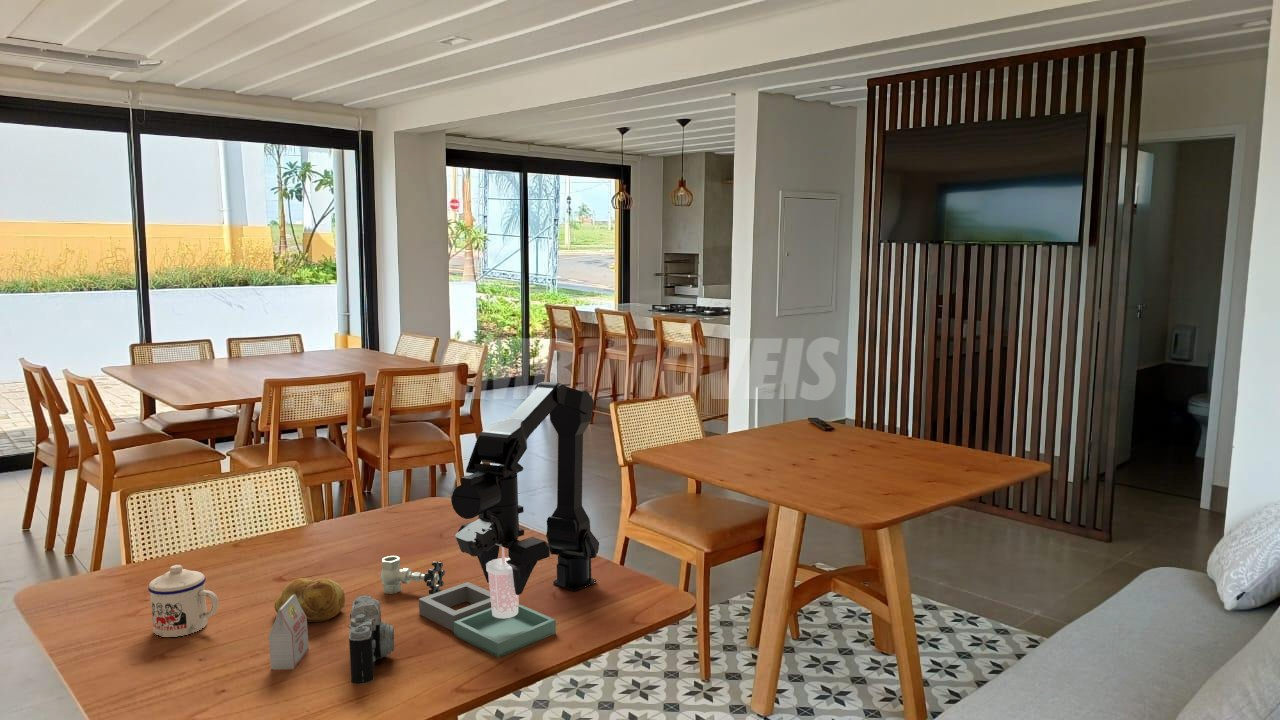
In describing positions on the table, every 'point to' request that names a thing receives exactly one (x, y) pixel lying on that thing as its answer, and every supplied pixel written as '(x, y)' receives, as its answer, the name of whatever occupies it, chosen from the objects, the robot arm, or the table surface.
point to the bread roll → (314, 598)
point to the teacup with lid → (180, 602)
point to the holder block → (440, 602)
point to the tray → (504, 630)
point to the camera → (367, 638)
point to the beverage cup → (502, 588)
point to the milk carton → (288, 636)
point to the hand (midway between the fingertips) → (504, 588)
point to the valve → (408, 575)
